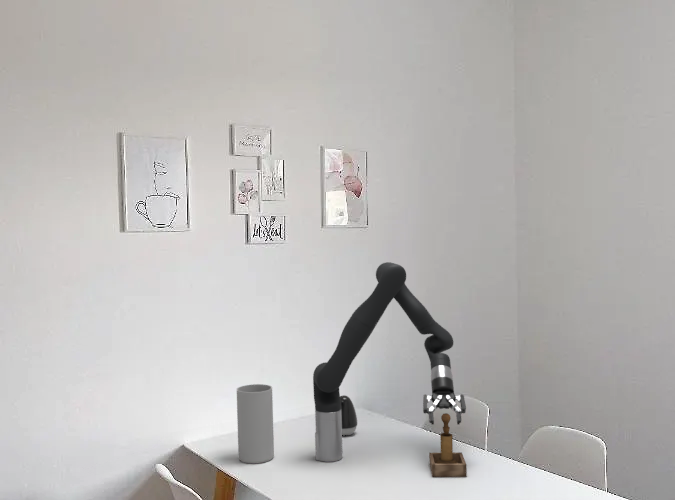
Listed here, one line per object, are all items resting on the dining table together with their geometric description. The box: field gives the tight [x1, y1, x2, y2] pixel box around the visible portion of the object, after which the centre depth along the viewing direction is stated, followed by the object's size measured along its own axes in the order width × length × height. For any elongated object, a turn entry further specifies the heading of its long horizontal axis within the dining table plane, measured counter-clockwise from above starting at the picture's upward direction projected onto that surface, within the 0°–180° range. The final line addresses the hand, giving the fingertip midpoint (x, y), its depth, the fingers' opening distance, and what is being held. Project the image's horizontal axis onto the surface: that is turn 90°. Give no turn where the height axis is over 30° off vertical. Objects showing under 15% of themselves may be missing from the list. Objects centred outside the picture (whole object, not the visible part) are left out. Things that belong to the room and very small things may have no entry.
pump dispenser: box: [340, 394, 358, 437], centre depth 270 cm, size 10×10×15 cm
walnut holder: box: [428, 451, 468, 478], centre depth 227 cm, size 11×12×4 cm
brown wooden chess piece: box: [437, 413, 457, 464], centre depth 227 cm, size 7×6×18 cm
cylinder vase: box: [236, 383, 275, 465], centre depth 243 cm, size 12×12×25 cm
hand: (445, 423), depth 229 cm, fingers open, 8 cm apart
